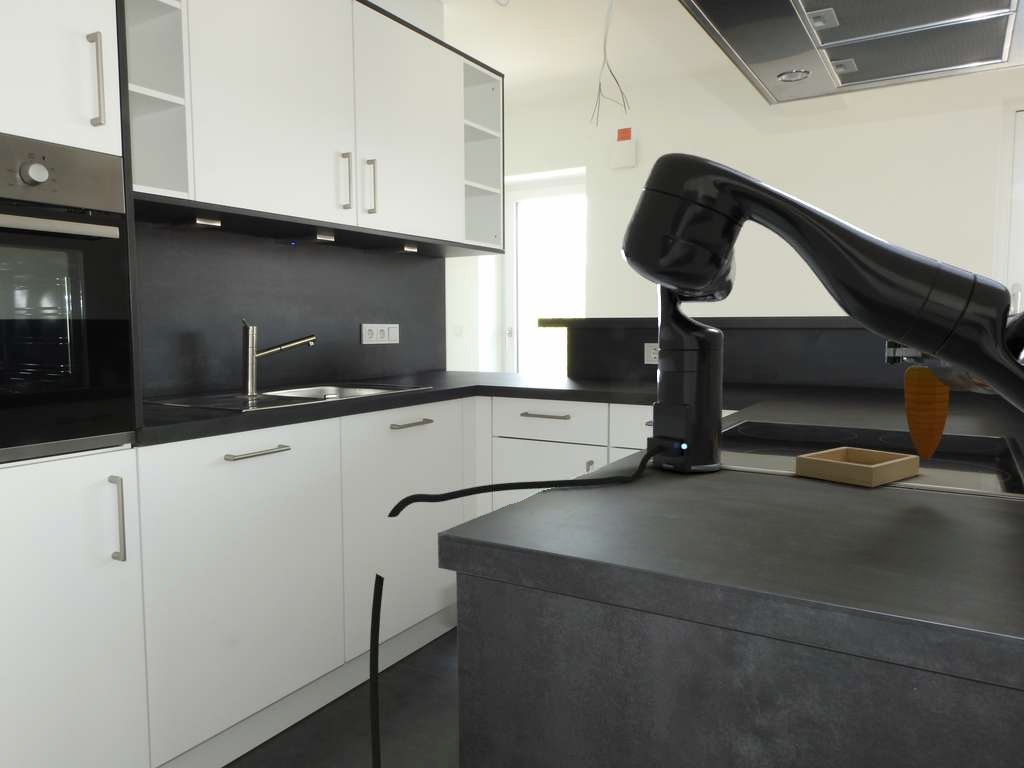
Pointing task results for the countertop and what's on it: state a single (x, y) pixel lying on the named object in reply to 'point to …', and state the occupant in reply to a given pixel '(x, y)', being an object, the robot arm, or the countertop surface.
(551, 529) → the countertop surface
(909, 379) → the carrot
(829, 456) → the tray
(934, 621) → the countertop surface
